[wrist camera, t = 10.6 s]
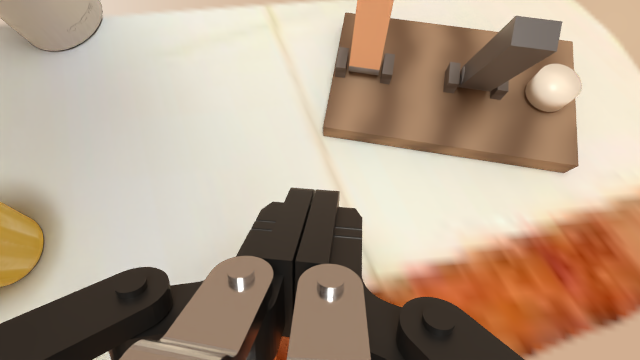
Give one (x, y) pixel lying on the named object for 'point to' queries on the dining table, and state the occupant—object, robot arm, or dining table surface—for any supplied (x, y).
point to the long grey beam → (511, 52)
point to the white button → (553, 87)
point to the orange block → (369, 35)
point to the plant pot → (17, 245)
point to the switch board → (447, 101)
